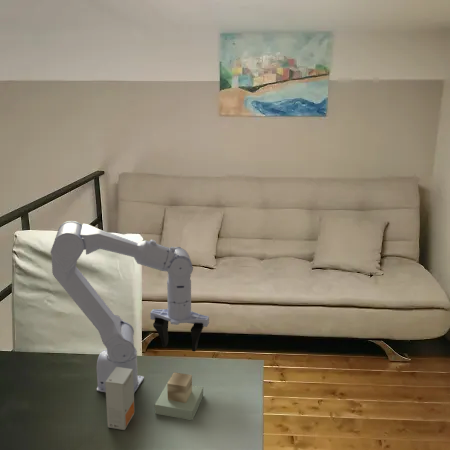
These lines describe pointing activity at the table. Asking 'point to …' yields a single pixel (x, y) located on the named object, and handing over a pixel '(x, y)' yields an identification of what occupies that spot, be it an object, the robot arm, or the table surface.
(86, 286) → the robot arm
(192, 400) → the sage base
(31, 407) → the table surface
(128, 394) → the skincare box
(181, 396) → the maple cube
